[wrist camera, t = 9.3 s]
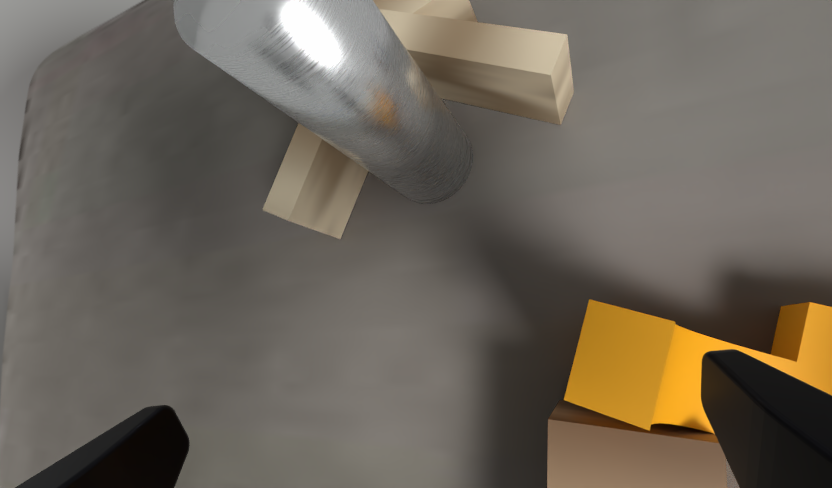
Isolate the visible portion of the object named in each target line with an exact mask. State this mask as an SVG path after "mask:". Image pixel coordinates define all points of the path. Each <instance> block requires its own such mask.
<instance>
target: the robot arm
mask: <svg viewBox="0 0 832 488" xmlns="http://www.w3.org/2000/svg"><path fill="white" fill-rule="evenodd" d="M701 402H702V406H703V409H704V411H705V414H706V416H707V418H708V420H709V422H710V425H711V427H712V429H713V431H714V433H715V435H716V437H717V440H718V442H719V444H720V446H721V448H722V450H723V453H724V455H725V457H726V459H727V461H728V463H729V465H730V468H731V470H732V472H733V474H734V476H735V478H736V480H737V483H738V485H739V487H740V488H832V395H830V394H828V393H826V392H824V391H822V390H820V389H818V388H816V387H813V386H811V385H809V384H807V383H805V382H803V381H801V380H799V379H797V378H795V377H793V376H791V375H789V374H787V373H785V372H782V371H780V370H778V369H776V368H774V367H772V366H770V365H768V364H766V363H764V362H762V361H760V360H758V359H756V358H754V357H751V356H749V355H747V354H745V353H743V352H741V351H739V350H735V349H727V350H717V351H708V352H706V353H705V354H704V355H703V358H702V368H701ZM188 451H189V438H188V435H187V433H186V431H185V430H184V428H183V426H182V424H181V422H180V420H179V418H178V416H177V415H176V413H175V411H174V410H173V408H171V407H170V406H167V405H160V406H151V407H147V408H144V409H142V410H140V411H139V412H137V413H136V414H134V415H132V416H131V417H129V418H127V419H126V420H124V421H123V422H121V423H119V424H118V425H116V426H114V427H113V428H111V429H110V430H108V431H106V432H105V433H103V434H101V435H100V436H98V437H97V438H95V439H93V440H92V441H90V442H88V443H87V444H85V445H84V446H82V447H80V448H79V449H77V450H75V451H74V452H72V453H71V454H69V455H67V456H66V457H64V458H62V459H61V460H59V461H58V462H56V463H54V464H53V465H51V466H49V467H48V468H46V469H45V470H43V471H41V472H40V473H38V474H36V475H35V476H33V477H32V478H30V479H28V480H27V481H25V482H23V483H22V484H20V485H19V486H17V487H15V488H174V487H175V484H176V482H177V479H178V477H179V474H180V471H181V469H182V466H183V464H184V461H185V459H186V456H187V454H188Z"/></svg>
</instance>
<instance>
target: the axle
mask: <svg viewBox="0 0 832 488" xmlns="http://www.w3.org/2000/svg"><path fill="white" fill-rule="evenodd" d="M173 7H174V19H175V24H176V27H177V30H178V32H179V34H180V36H181V38H182V39H183V40H184V42H185V43H186V44H187V45H188V46H189V47H191V48H192V49H193V50H195V51H196V52H198V53H199V54H201V55H202V56H203V57H205V58H206V59H208V60H209V61H211V62H212V63H213V64H215V65H216V66H218V67H219V68H221V69H222V70H224V71H225V72H226V73H228V74H229V75H231V76H232V77H234V78H235V79H237V80H238V81H239V82H241V83H242V84H244V85H245V86H247V87H248V88H249V89H251V90H252V91H254V92H255V93H257V94H258V95H260V96H261V97H262V98H264V99H265V100H267V101H268V102H270V103H271V104H273V105H274V106H275V107H277V108H278V109H280V110H281V111H283V112H284V113H285V114H287V115H288V116H290V117H291V118H293V119H294V120H296V121H297V122H298V123H300V124H301V125H303V126H304V127H306V128H307V129H308V130H310V131H311V132H313V133H314V134H316V135H317V136H319V137H320V138H321V139H323V140H324V141H326V142H327V143H329V144H330V145H332V146H333V147H334V148H336V149H337V150H339V151H340V152H342V153H343V154H344V155H346V156H347V157H349V158H350V159H352V160H353V161H355V162H356V163H357V164H359V165H360V166H362V167H363V168H365V169H366V170H367V171H369V172H370V173H372V174H373V175H375V176H376V177H378V178H379V179H380V180H382V181H383V182H385V183H386V184H388V185H389V186H391V187H392V188H393V189H395V190H396V191H398V192H399V193H401V194H402V195H403V196H405V197H406V198H408V199H410V200H412V201H414V202H418V203H424V204H429V203H436V202H439V201H442V200H444V199H447V198H448V197H450V196H452V195H453V194H454V193H455V192H457V191H458V190H459V189H460V188H461V186H462V185H463V184H464V182H465V181H466V179H467V177H468V175H469V173H470V170H471V167H472V161H473V153H472V147H471V144H470V141H469V139H468V138H467V136H466V134H465V133H464V131H463V130H462V129H461V127H460V126H459V124H458V123H457V121H456V120H455V118H454V117H453V116H452V114H451V113H450V111H449V110H448V108H447V107H446V105H445V104H444V103H443V101H442V100H441V98H440V97H439V95H438V94H437V92H436V91H435V90H434V88H433V87H432V85H431V84H430V82H429V81H428V79H427V78H426V76H425V75H424V74H423V72H422V71H421V69H420V68H419V66H418V65H417V63H416V62H415V61H414V59H413V58H412V56H411V55H410V53H409V52H408V50H407V49H406V48H405V46H404V45H403V43H402V42H401V40H400V39H399V37H398V36H397V35H396V33H395V32H394V30H393V29H392V27H391V26H390V24H389V23H388V22H387V20H386V19H385V17H384V16H383V14H382V13H381V11H380V10H379V8H378V7H377V6H376V4H375V3H374V1H373V0H174V5H173Z"/></svg>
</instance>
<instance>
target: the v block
mask: <svg viewBox="0 0 832 488" xmlns="http://www.w3.org/2000/svg"><path fill="white" fill-rule="evenodd" d="M373 1H374V3H375V4H376V6H377V7H378V8H379V10H380V11H381V13H382V14H383V16H384V17H385V19H386V20H387V22H388V23H389V24H390V26H391V27H392V29H393V30H394V32H395V33H396V35H397V36H398V37H399V39H400V40H401V42H402V43H403V45H404V46H405V48H406V49H407V50H408V52H409V53H410V55H411V56H412V58H413V59H414V61H415V62H416V63H417V65H418V66H419V68H420V69H421V71H422V72H423V74H424V75H425V76H426V78H427V79H428V81H429V82H430V84H431V85H432V87H433V88H434V90H435V91H436V92H437V94H438V95H439V97H440V98H442V99H447V100H451V101H456V102H460V103H464V104H469V105H473V106H478V107H482V108H487V109H491V110H496V111H500V112H505V113H509V114H514V115H518V116H523V117H527V118H532V119H536V120H541V121H545V122H549V123H554V124H558V125H561V123H562V121H563V118H564V116H565V113H566V111H567V108H568V106H569V103H570V101H571V98H572V96H573V93H574V89H573V81H572V72H571V63H570V55H569V46H568V37H567V34H560V33H553V32H545V31H538V30H530V29H523V28H516V27H508V26H501V25H494V24H486V23H479V22H477V19H476V17H475V14H474V12H473V9H472V7H471V4H470V2H469V0H373ZM367 173H368V171H367V170H366V169H365V168H363V167H362V166H360V165H359V164H357V163H356V162H355V161H353V160H352V159H350V158H349V157H347V156H346V155H344V154H343V153H342V152H340V151H339V150H337V149H336V148H334V147H333V146H332V145H330V144H329V143H327V142H326V141H324V140H323V139H321V138H320V137H319V136H317V135H316V134H314V133H313V132H311V131H310V130H308V129H307V128H306V127H304V126H303V125H301V124H300V123H298V125H297V128H296V130H295V133H294V135H293V138H292V140H291V142H290V145H289V147H288V150H287V152H286V154H285V157H284V159H283V162H282V164H281V166H280V169H279V171H278V174H277V176H276V178H275V181H274V183H273V186H272V188H271V190H270V193H269V195H268V198H267V200H266V202H265V205H264V207H263V210H264V211H266V212H269V213H271V214H273V215H276V216H278V217H280V218H283V219H285V220H287V221H290V222H293V223H296V224H298V225H301V226H304V227H307V228H310V229H313V230H315V231H318V232H321V233H324V234H327V235H330V236H332V237H335V238H338V239H341V237H342V234H343V232H344V229H345V227H346V224H347V222H348V220H349V217H350V215H351V212H352V210H353V207H354V205H355V202H356V200H357V198H358V195H359V193H360V190H361V188H362V185H363V183H364V181H365V178H366V176H367Z"/></svg>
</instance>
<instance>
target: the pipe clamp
mask: <svg viewBox="0 0 832 488" xmlns="http://www.w3.org/2000/svg"><path fill="white" fill-rule="evenodd" d="M727 349H735V350H739V351H741V352H743V353H745V354H747V355H749V356H751V357H754V358H756V359H758V360H760V361H762V362H764V363H766V364H768V365H770V366H772V367H774V368H776V369H778V370H780V371H782V372H785V373H787V374H789V375H791V376H793V377H795V378H797V379H799V380H801V381H803V382H805V383H807V384H809V385H811V386H813V387H816V388H818V389H820V390H822V391H824V392H826V393H828V394H830V395H832V307H830V306H825V305H820V304H816V303H812V302H807V303H800V304H793V305H786V306H781V309H780V313H779V318H778V322H777V327H776V331H775V336H774V341H773V345H772V350H771V354H766V353H763V352H759V351H756V350H752V349H749V348H745V347H742V346H738V345H735V344H732V343H728V342H725V341H722V340H718V339H715V338H712V337H709V336H705V335H702V334H699V333H696V332H693V331H691V330H688V329H685V328H683V327H680V326H678V325H676V324H675V321H671V320H667V319H663V318H659V317H656V316H652V315H648V314H644V313H640V312H636V311H633V310H629V309H625V308H621V307H617V306H613V305H610V304H606V303H602V302H598V301H594V300H590V299H589V302H588V306H587V310H586V314H585V318H584V322H583V326H582V330H581V334H580V338H579V342H578V346H577V350H576V354H575V358H574V362H573V365H572V369H571V373H570V377H569V381H568V385H567V389H566V393H565V397H564V400H565V401H568V402H571V403H574V404H576V405H579V406H582V407H585V408H588V409H590V410H593V411H596V412H599V413H602V414H604V415H607V416H610V417H613V418H615V419H618V420H621V421H624V422H627V423H629V424H632V425H635V426H638V427H641V428H643V429H646V430H649V431H650V427H651V425H652V424H657V423H664V424H674V425H680V426H685V427H690V428H694V429H699V430H703V431H707V432H711V433H714V431H713V429H712V427H711V425H710V422H709V420H708V418H707V416H706V414H705V411H704V409H703V406H702V402H701V368H702V358H703V355H704V354H705V353H706V352H708V351H717V350H727ZM714 434H715V433H714Z"/></svg>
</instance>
